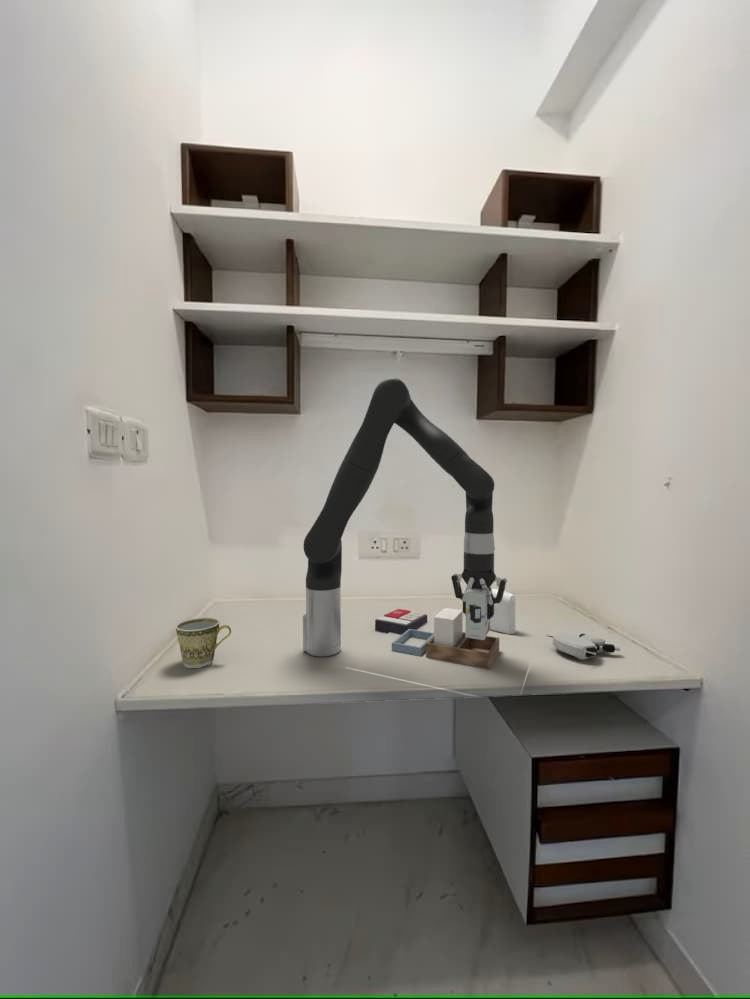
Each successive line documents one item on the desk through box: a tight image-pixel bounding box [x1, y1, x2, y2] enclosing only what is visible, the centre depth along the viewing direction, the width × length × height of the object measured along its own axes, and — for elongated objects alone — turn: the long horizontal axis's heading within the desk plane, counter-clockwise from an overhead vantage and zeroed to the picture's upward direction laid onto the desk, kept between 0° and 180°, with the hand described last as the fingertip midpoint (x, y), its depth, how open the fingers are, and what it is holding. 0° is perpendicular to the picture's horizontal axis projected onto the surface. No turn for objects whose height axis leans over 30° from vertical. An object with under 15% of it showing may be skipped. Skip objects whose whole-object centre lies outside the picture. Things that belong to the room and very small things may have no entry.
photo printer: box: [489, 588, 516, 635], centre depth 129 cm, size 10×4×12 cm, turn 44°
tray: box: [391, 629, 434, 657], centre depth 116 cm, size 8×12×2 cm
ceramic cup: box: [175, 617, 232, 670], centre depth 105 cm, size 13×10×10 cm
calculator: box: [374, 608, 428, 636], centre depth 133 cm, size 11×4×15 cm
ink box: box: [464, 588, 490, 640], centre depth 108 cm, size 9×5×12 cm, turn 155°
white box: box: [433, 607, 464, 647], centre depth 111 cm, size 5×9×10 cm, turn 153°
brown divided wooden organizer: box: [425, 632, 500, 670], centre depth 110 cm, size 16×12×4 cm
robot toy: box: [545, 633, 621, 661], centre depth 111 cm, size 12×4×15 cm
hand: (478, 616), depth 108 cm, fingers closed on ink box, 5 cm apart
